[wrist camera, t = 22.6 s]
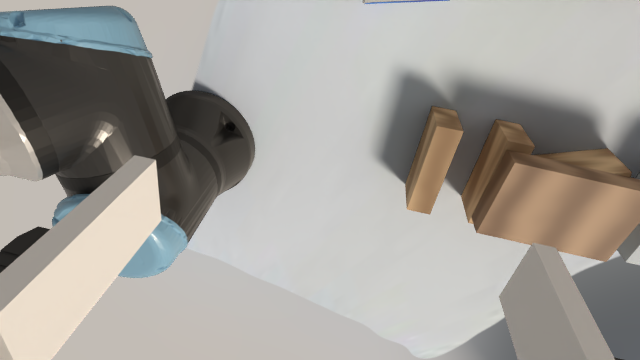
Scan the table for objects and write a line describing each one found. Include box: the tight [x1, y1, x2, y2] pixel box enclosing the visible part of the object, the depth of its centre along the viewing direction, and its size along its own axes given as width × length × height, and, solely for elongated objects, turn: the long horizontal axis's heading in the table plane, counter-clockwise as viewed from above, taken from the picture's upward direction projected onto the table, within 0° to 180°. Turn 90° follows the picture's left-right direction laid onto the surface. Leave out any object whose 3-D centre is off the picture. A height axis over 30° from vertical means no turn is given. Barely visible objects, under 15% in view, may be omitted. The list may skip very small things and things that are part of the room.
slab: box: [471, 150, 640, 262], centre depth 45 cm, size 16×10×3 cm, turn 79°
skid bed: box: [405, 106, 535, 224], centre depth 49 cm, size 11×12×6 cm
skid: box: [534, 148, 632, 177], centre depth 48 cm, size 12×5×6 cm, turn 101°
